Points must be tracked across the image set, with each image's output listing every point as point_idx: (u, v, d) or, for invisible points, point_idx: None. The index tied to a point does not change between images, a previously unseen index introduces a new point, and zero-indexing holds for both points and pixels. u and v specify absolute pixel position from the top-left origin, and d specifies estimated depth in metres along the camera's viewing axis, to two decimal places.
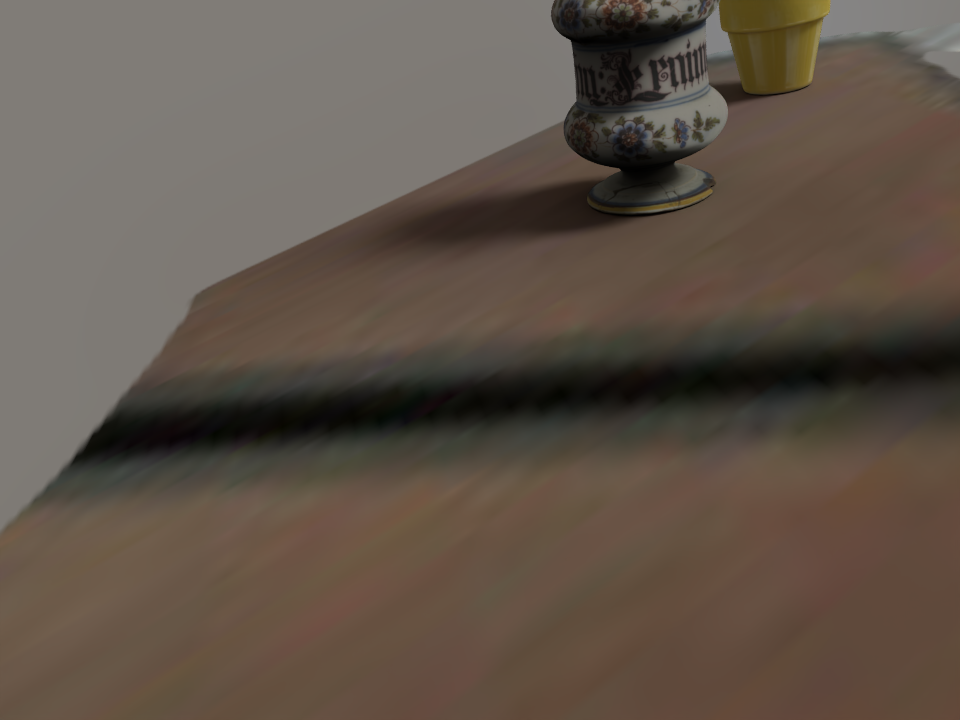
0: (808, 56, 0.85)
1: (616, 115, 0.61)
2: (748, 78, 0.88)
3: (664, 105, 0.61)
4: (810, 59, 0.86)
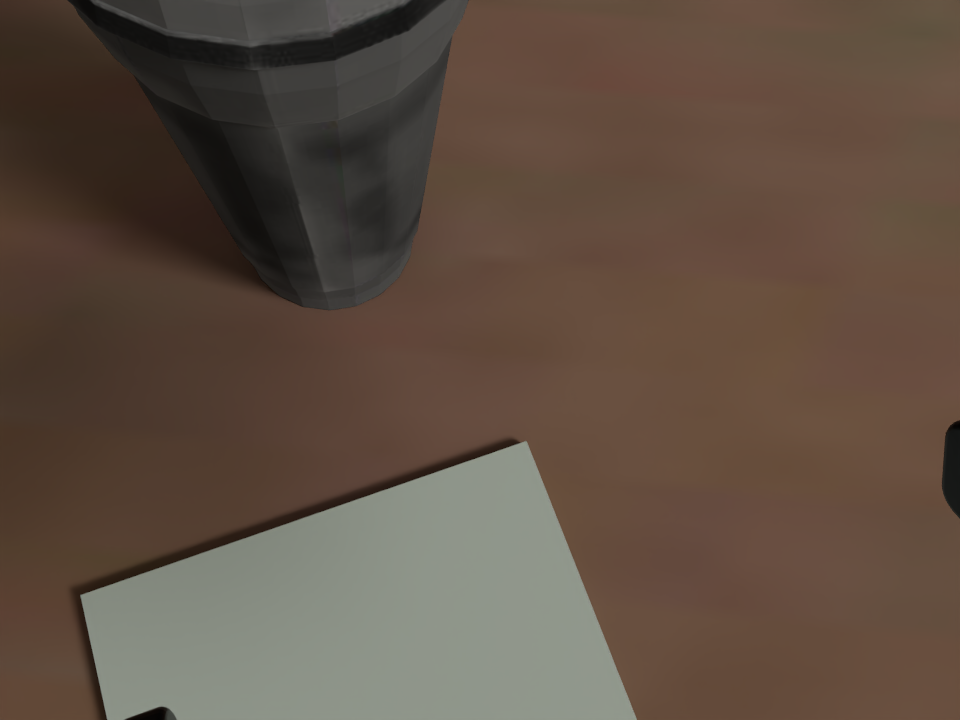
0: None
1: None
2: None
3: None
4: None
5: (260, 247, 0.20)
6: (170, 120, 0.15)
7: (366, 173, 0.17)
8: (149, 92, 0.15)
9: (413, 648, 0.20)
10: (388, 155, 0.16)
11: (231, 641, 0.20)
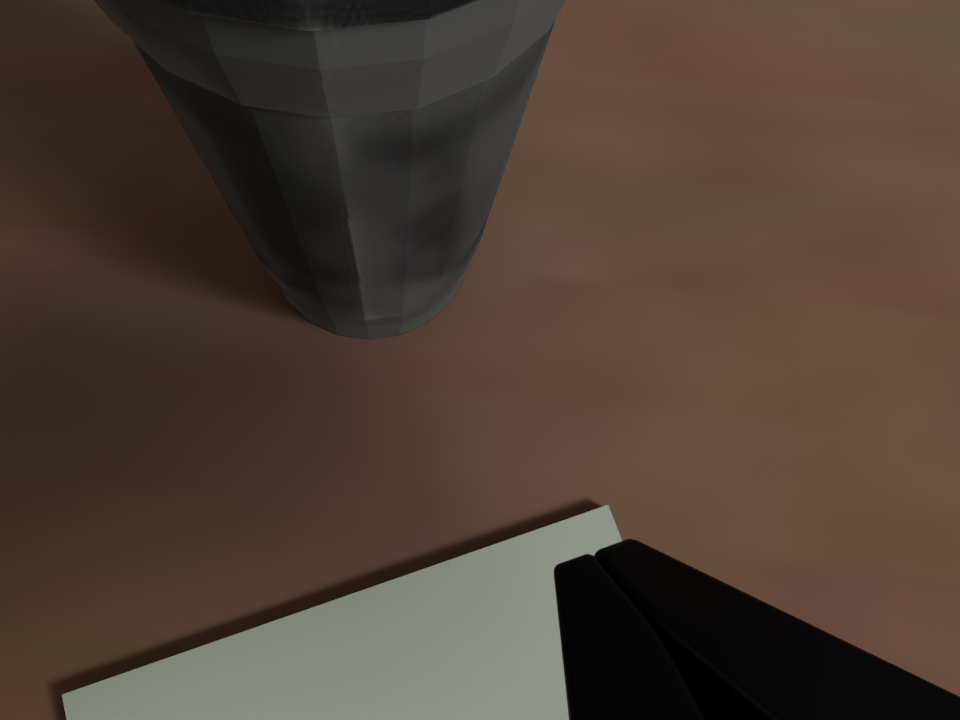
0: None
1: None
2: None
3: None
4: None
5: (291, 267, 0.16)
6: (183, 106, 0.12)
7: (438, 179, 0.13)
8: (155, 67, 0.11)
9: None
10: (468, 156, 0.12)
11: None
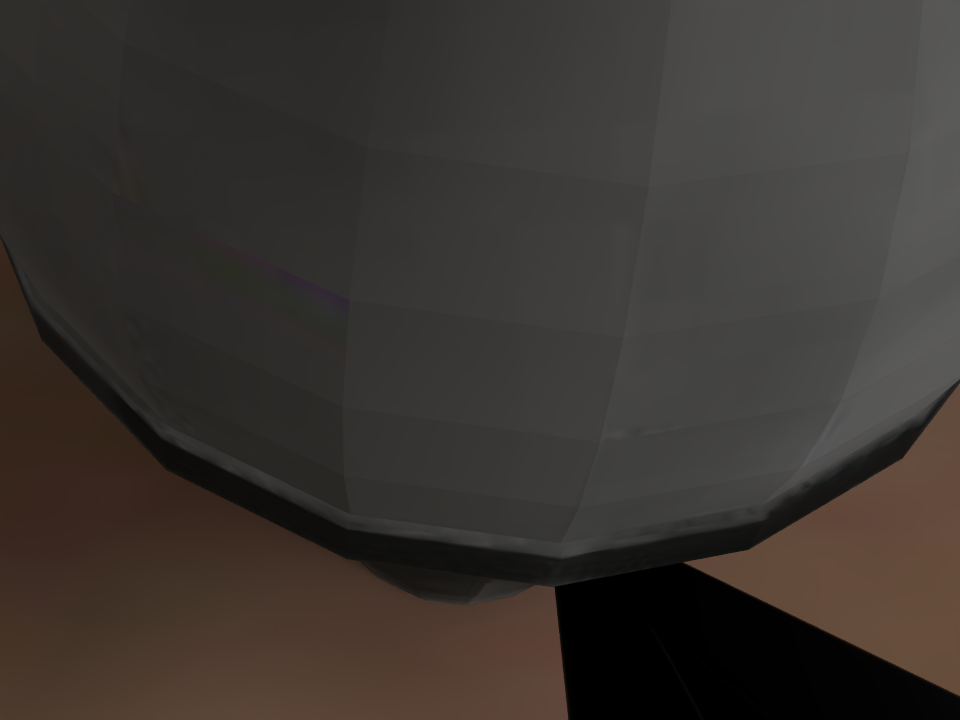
0: None
1: None
2: None
3: None
4: None
5: (387, 575, 0.12)
6: None
7: None
8: None
9: None
10: None
11: None
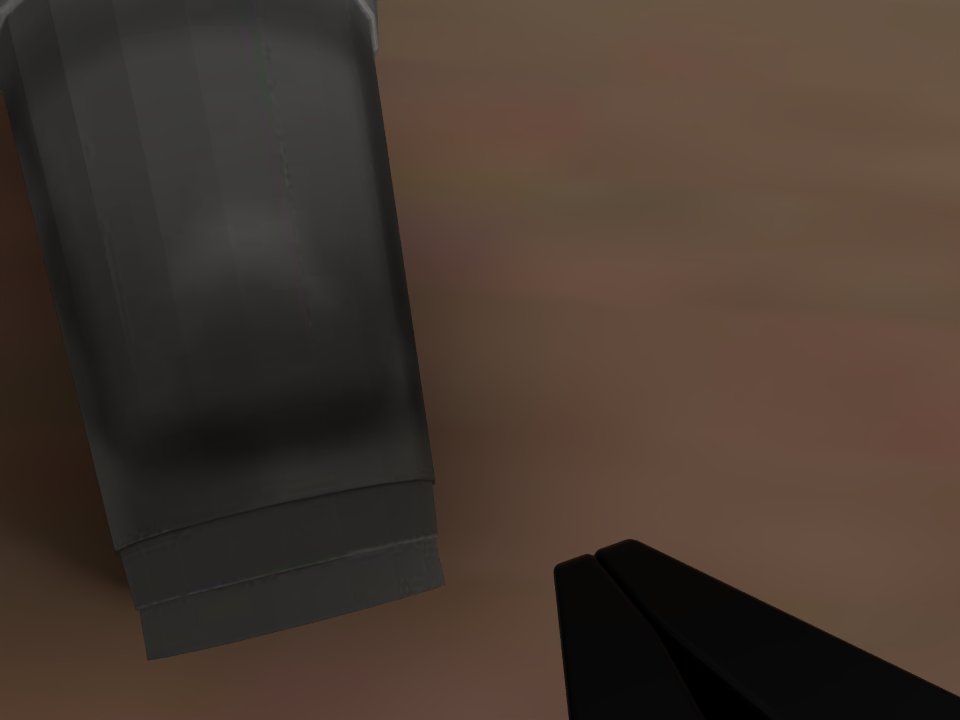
0: None
1: None
2: None
3: None
4: None
5: None
6: None
7: (40, 181, 0.13)
8: None
9: None
10: (37, 142, 0.13)
11: None
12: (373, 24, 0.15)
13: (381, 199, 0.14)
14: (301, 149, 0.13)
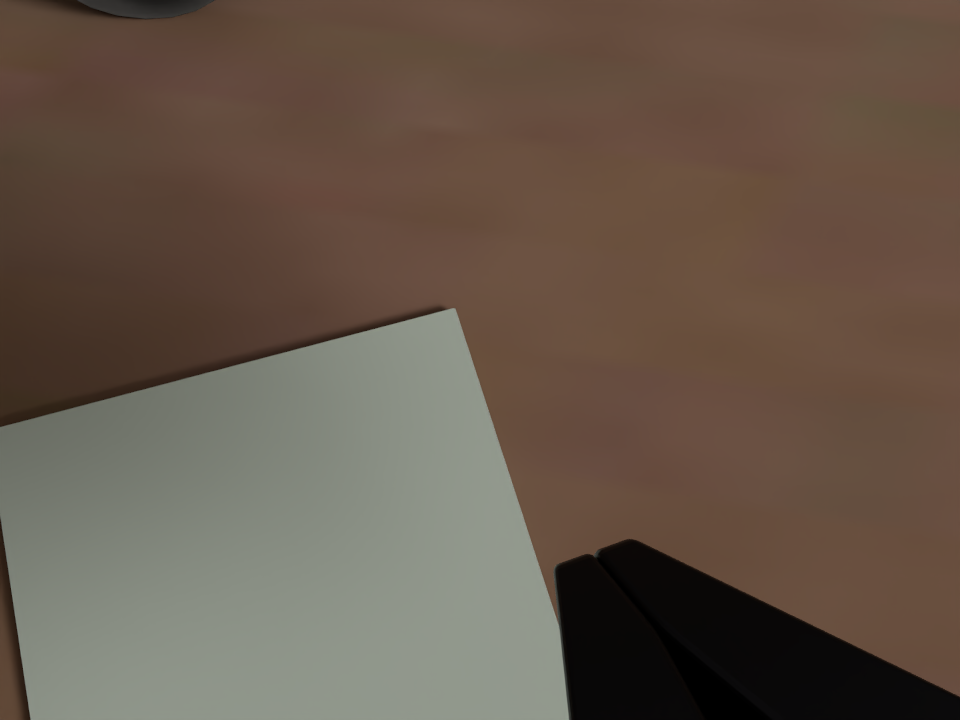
0: None
1: None
2: None
3: None
4: None
5: None
6: None
7: None
8: None
9: (322, 501, 0.20)
10: None
11: (137, 484, 0.20)
12: None
13: None
14: None
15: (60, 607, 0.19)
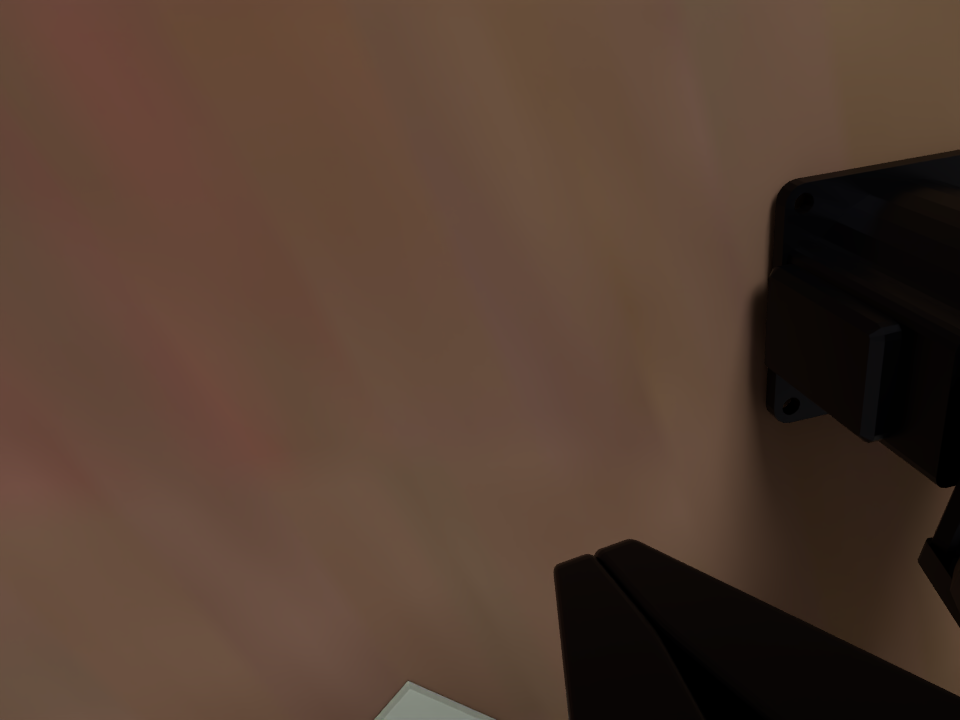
0: None
1: None
2: None
3: None
4: None
5: None
6: None
7: None
8: None
9: None
10: None
11: None
12: None
13: None
14: None
15: None
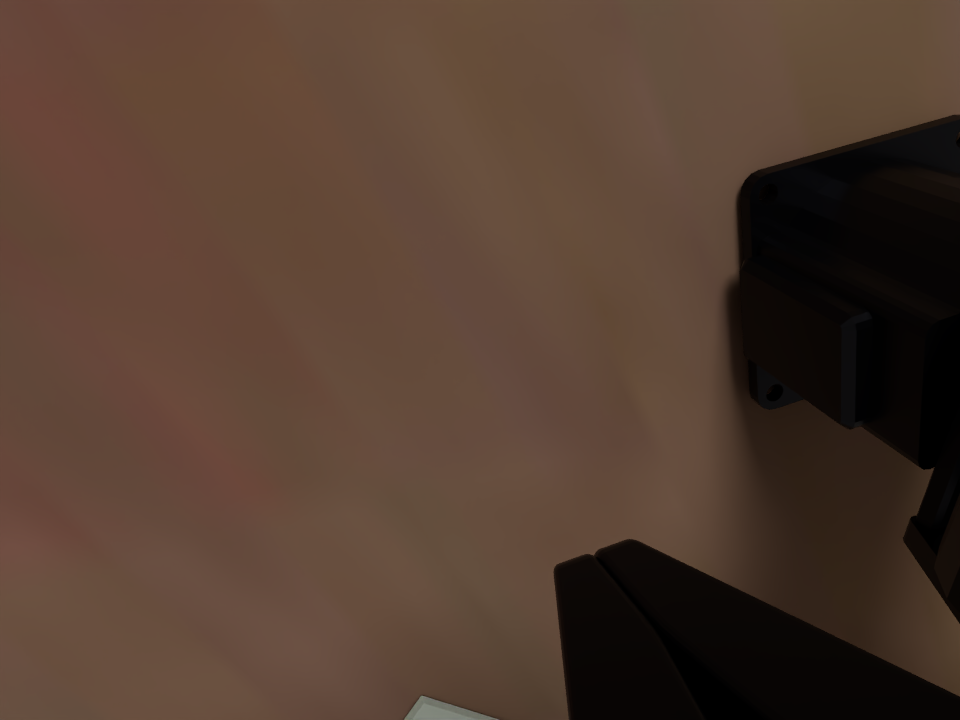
0: None
1: None
2: None
3: None
4: None
5: None
6: None
7: None
8: None
9: None
10: None
11: None
12: None
13: None
14: None
15: None
